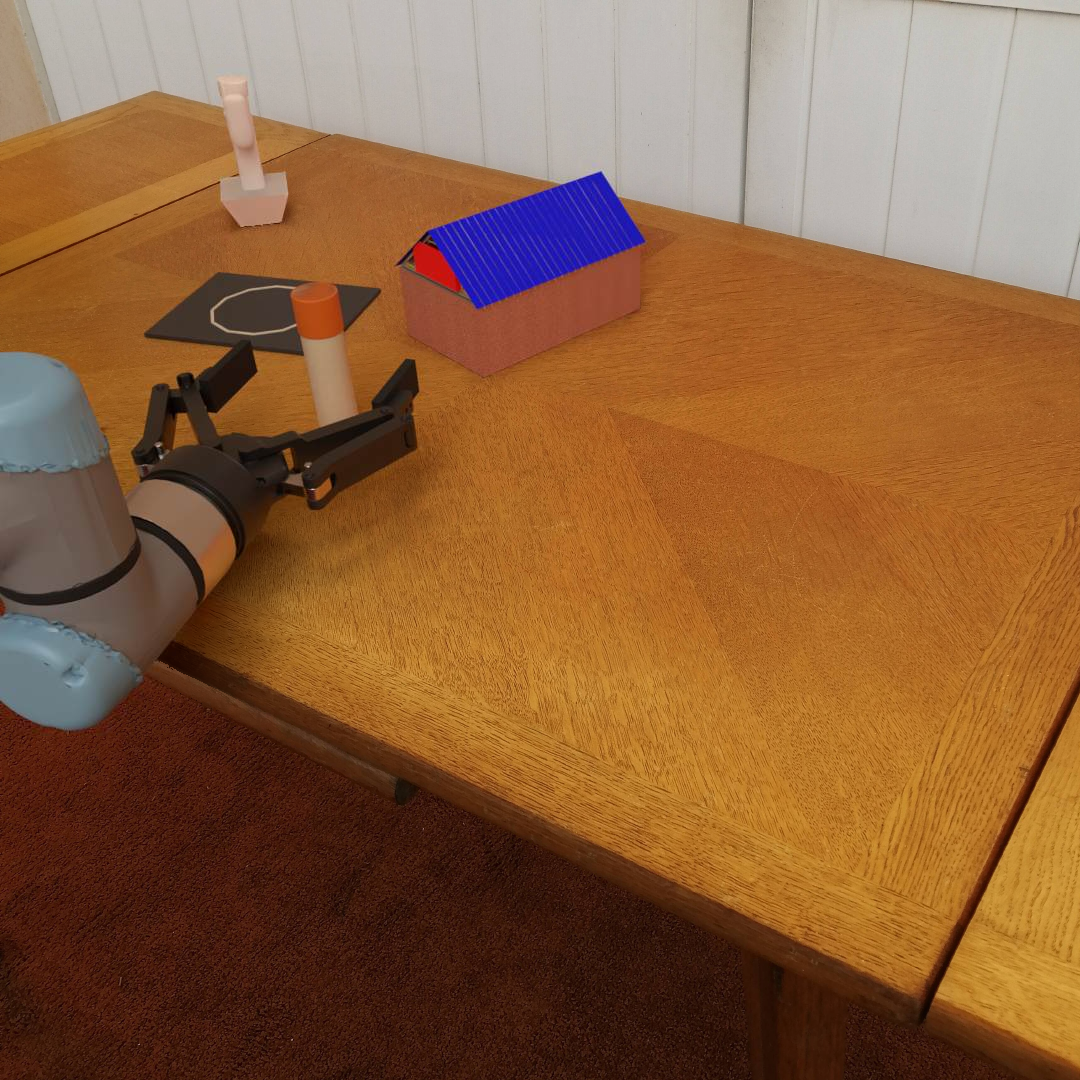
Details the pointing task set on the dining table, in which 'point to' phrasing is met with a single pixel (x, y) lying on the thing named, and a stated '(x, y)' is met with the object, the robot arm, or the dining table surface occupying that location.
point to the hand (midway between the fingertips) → (330, 364)
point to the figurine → (248, 164)
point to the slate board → (249, 312)
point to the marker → (325, 351)
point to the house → (523, 275)
